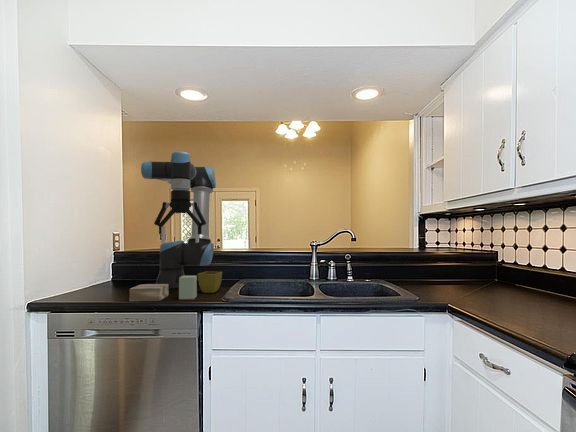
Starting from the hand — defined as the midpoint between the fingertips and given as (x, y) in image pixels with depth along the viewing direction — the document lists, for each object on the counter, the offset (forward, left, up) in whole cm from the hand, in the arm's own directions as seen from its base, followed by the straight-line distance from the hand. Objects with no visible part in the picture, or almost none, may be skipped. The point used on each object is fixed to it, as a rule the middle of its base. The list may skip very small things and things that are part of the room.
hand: (180, 242), depth 137 cm
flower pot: (-21, +8, -24) cm, 33 cm away
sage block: (-8, +1, -24) cm, 25 cm away
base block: (-8, -15, -24) cm, 29 cm away
